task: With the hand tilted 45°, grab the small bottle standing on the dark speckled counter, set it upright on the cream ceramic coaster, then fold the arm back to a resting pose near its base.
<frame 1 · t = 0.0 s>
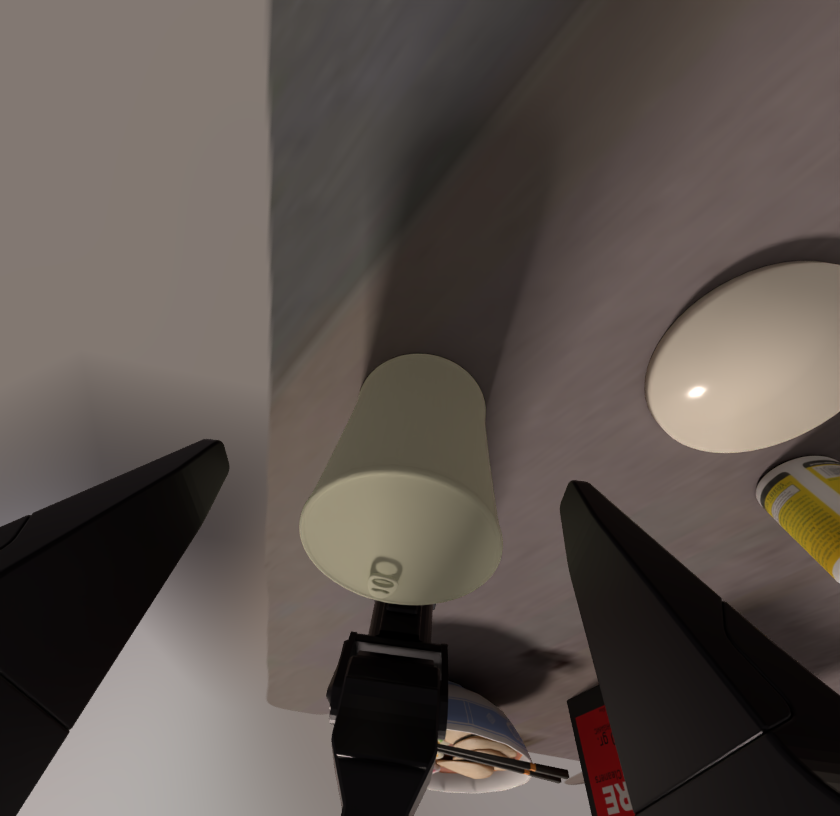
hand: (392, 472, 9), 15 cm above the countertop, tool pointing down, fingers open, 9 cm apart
coaster: (751, 365, 22), on the countertop
can: (421, 410, 26), on the countertop
cleaning product box: (639, 706, 46), on the countertop
supplement bottle: (793, 480, 26), on the countertop
ramen bowl: (440, 689, 49), on the countertop
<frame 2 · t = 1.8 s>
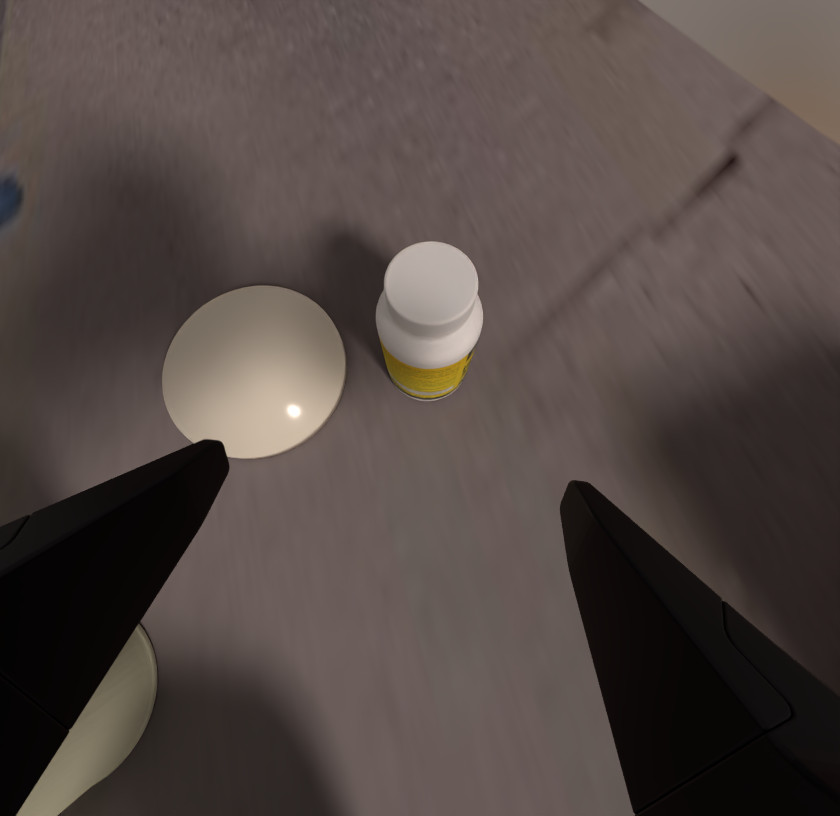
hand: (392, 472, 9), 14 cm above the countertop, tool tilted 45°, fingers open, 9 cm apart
coaster: (260, 371, 24), on the countertop
can: (80, 690, 20), on the countertop
supplement bottle: (427, 365, 24), on the countertop
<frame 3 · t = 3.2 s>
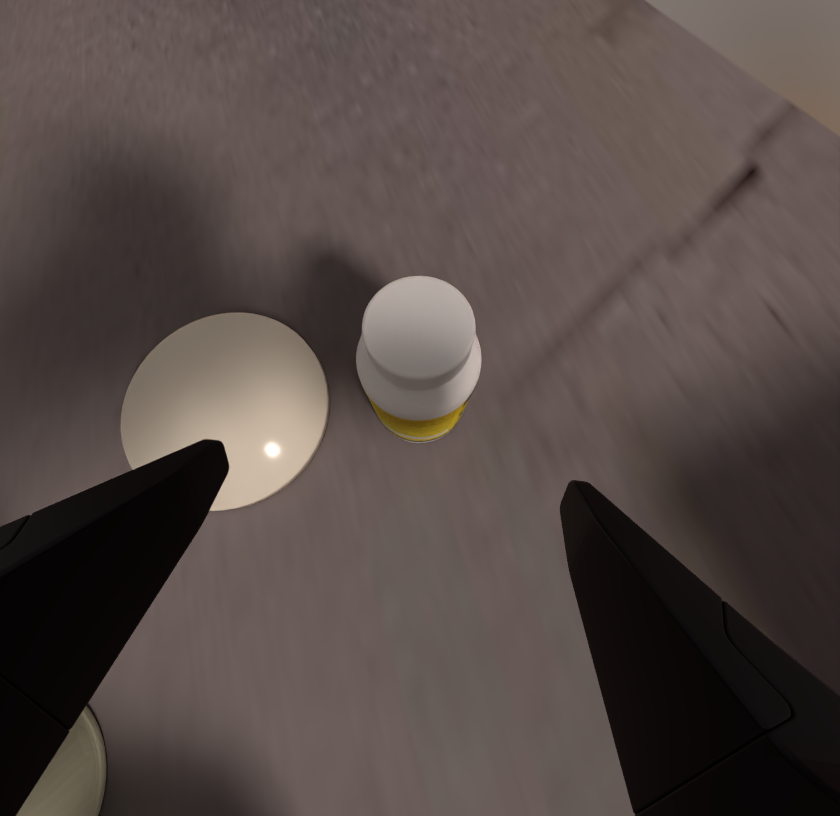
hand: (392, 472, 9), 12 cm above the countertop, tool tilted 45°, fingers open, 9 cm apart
coaster: (232, 408, 22), on the countertop
can: (17, 787, 17), on the countertop
supplement bottle: (420, 401, 22), on the countertop
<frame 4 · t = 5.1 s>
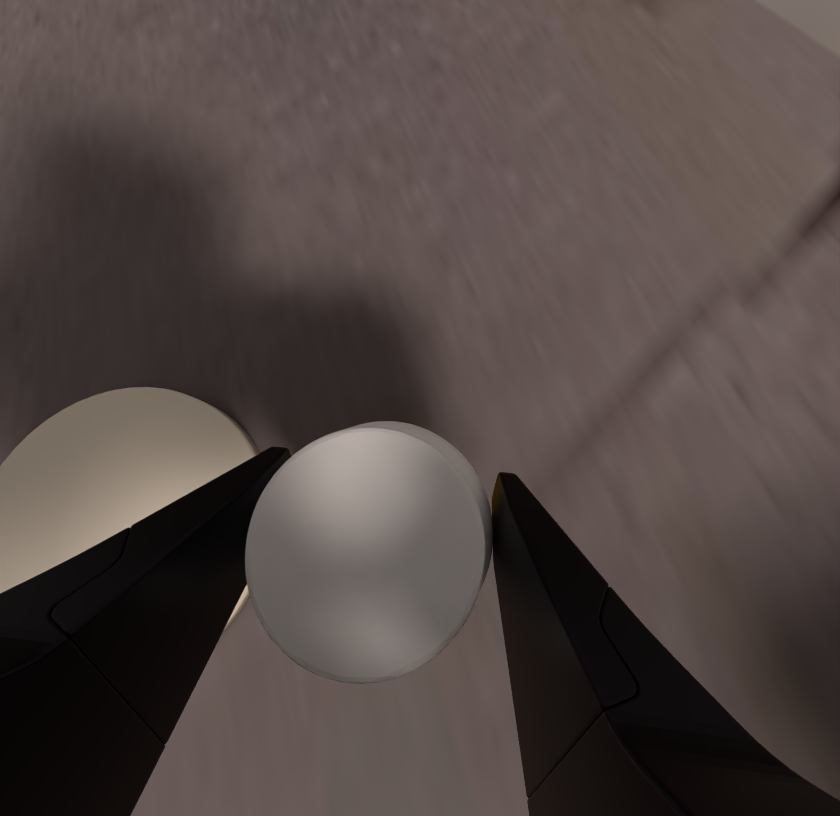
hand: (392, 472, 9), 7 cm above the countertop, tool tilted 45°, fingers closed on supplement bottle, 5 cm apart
coaster: (134, 526, 15), on the countertop
supplement bottle: (401, 513, 15), on the countertop, touching gripper
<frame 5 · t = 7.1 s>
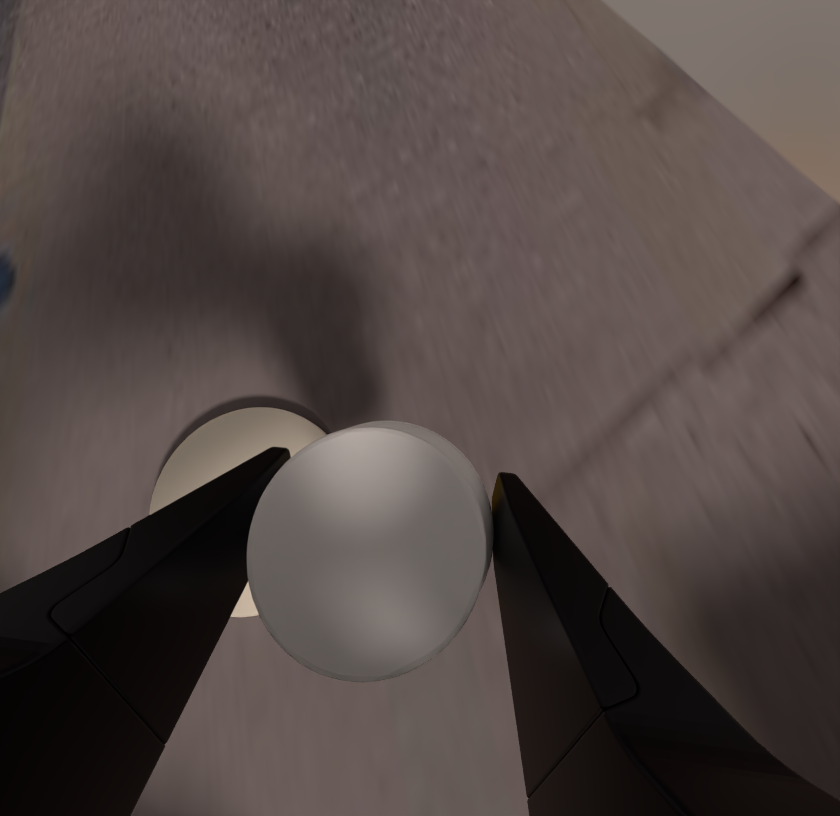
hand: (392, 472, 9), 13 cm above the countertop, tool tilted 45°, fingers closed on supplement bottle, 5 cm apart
coaster: (257, 504, 22), on the countertop
supplement bottle: (401, 512, 15), point 6 cm above the countertop, touching gripper
when the fingers open (9 cm above the countertop, at t = 9.3 s): supplement bottle drops 1 cm, resting on coaster.
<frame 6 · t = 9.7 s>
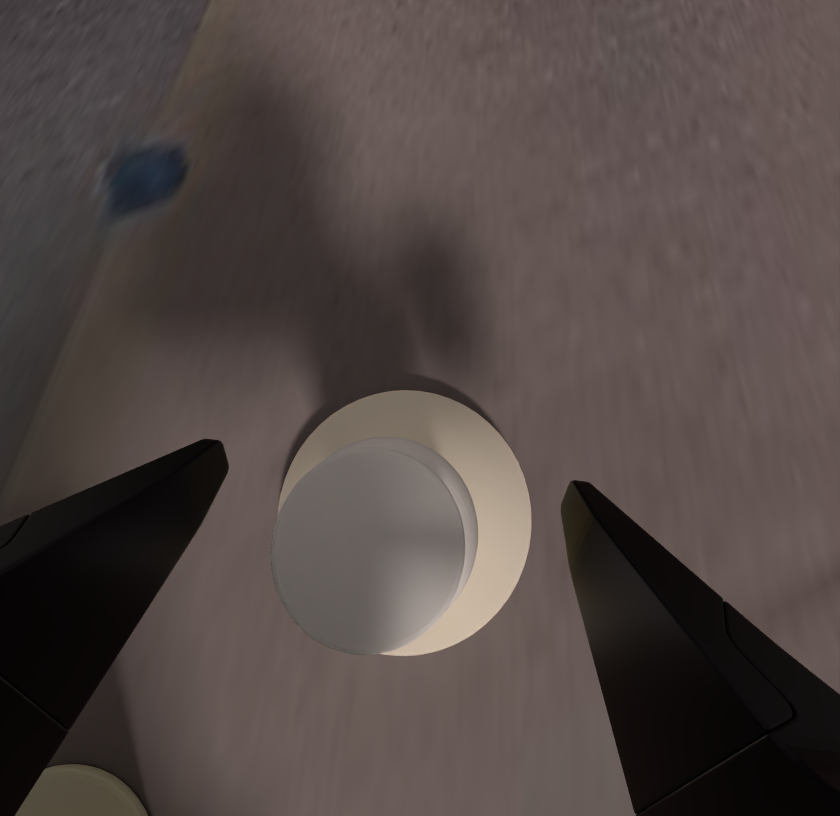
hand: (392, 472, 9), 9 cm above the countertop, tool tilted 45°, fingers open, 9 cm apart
coaster: (405, 510, 18), on the countertop
supplement bottle: (401, 515, 17), point 1 cm above the countertop, touching coaster
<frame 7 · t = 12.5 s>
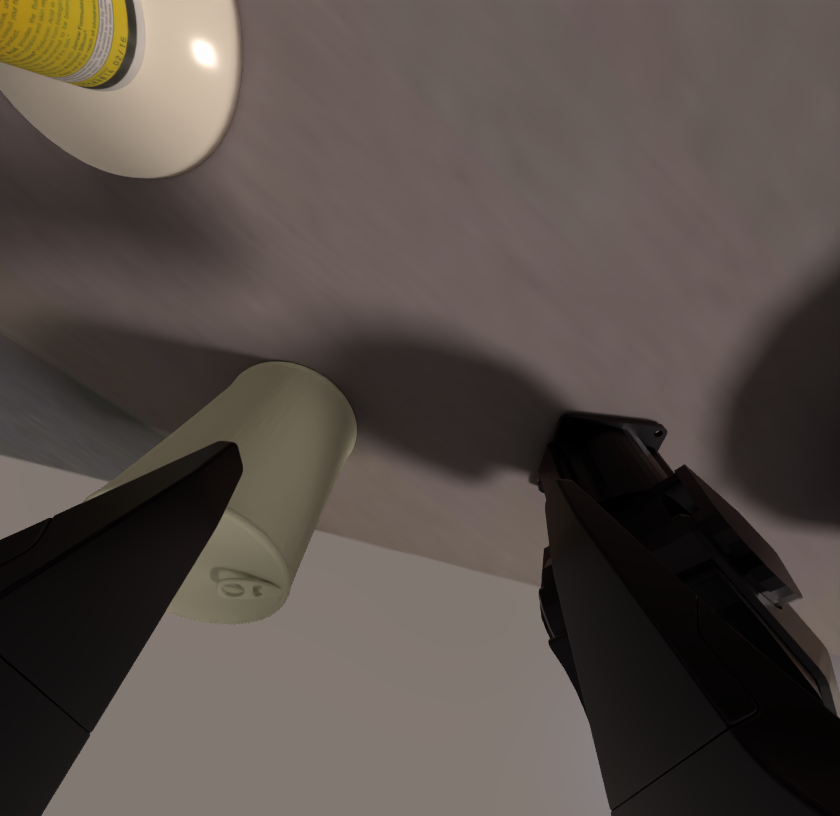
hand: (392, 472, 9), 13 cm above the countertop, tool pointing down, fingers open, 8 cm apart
coaster: (101, 8, 15), on the countertop
can: (294, 419, 25), on the countertop
supplement bottle: (88, 6, 14), point 1 cm above the countertop, touching coaster
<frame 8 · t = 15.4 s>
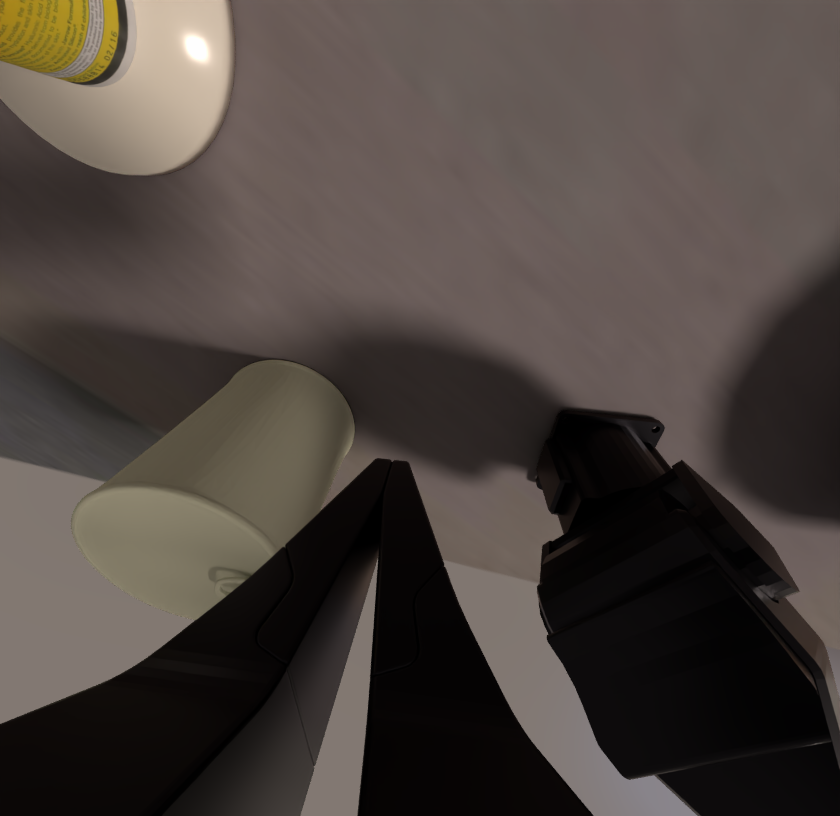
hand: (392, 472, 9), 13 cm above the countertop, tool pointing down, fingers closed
coaster: (91, 2, 15), on the countertop
can: (292, 418, 25), on the countertop
supplement bottle: (78, 0, 14), point 1 cm above the countertop, touching coaster
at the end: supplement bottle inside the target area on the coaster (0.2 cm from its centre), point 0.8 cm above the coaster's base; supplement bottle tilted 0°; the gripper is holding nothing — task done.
